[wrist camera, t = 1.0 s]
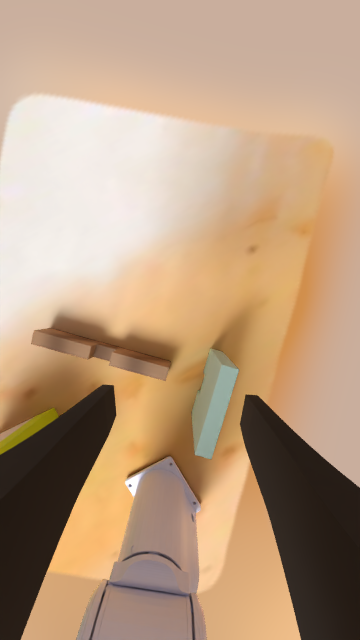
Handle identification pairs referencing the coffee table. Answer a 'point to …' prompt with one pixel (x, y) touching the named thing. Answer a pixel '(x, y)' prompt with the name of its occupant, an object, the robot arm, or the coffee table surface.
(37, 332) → the walnut rail
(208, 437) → the teal plate
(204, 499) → the coffee table surface
